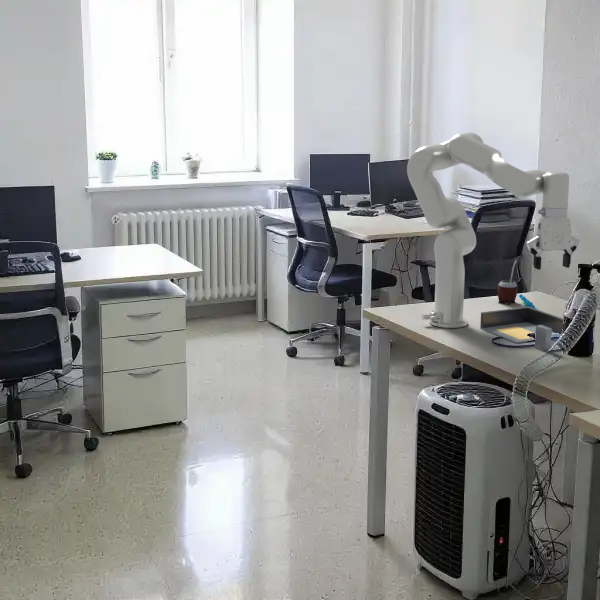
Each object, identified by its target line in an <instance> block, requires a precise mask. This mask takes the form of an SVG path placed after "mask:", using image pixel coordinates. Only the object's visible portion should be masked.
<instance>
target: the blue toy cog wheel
mask: <svg viewBox="0 0 600 600" xmlns="http://www.w3.org/2000/svg"><path fill="white" fill-rule="evenodd" d="M518 297H519V298H520V300H521V301H522V305H521V307H531V308H534V309H537V310H539V309H538V308H536V306H535V305H534V303H533V301H530V300H529V299H527V298H526V297H525V295H523V294H521V293H520V294H519V295H518Z"/></svg>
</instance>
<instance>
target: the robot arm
mask: <svg viewBox="0 0 600 600" xmlns="http://www.w3.org/2000/svg"><path fill="white" fill-rule="evenodd" d="M460 164H463V165H465V166H466V167H469V168H471V169H473V170H475V171H476V172H479V173H481V174H483V175H485V176H486V177H487V178H488V179H489V180H490V181H491V182H493V183H494V184H496V185H497V186H498V187H500V188H502V189H503V190H505V191H507V192H510V193H512V194H514V195H515V196H519V197H522V198H523V197H524V198H525V197H530V196H534V195H538V194H542V203H541V204H542V205H541V208H540V209H538V211H537V213H538V214H539V215H541V216H540V217H539V219H538V221H537V228H536V233H535V234H536V235H535V237H533V238H531V239H529V240H527V241H526V243H525V245H526V247H527V248H528V251H529V252H530V254H531V255H532V256H533V262H532V265H533V268H534V269H535V270H538V271H539V270H541V269H542V256H541V255H542V254H543V252H544V251H546V252H549V251H555V252H556V251H564V253H563V254H562V267H564V268H567V269H569V268H570V265H571V263H572V261H571V259H572V255H574V254H573V253H574V252H575V250H577V248H578V245H579V244H580V242H581V241H580V239H578V238H577V237H575V236H573V235H572V231H573V230H572V222H571V217H570V216H568V205H569V192H570V191H569V189H570V175H569V174H568V173H567V172H565V171H564V172H563V171H547V170H546V171H545V170H541V169H531V170H530V169H529V170H527V171H524V170H522V169H520V168H517V167H516V166H514V165H511V164H510V163H508V162H507V161H506V160H504V158H503V156H502V153H501V151H500V150H499V149H497V148H494V147H492V146H490V145H489V144H487V143H484V141H483V139H482V137H481V136H480V135H478V134H477V133H473V132H464V133H457V134H455V135H453V137H451V138H450V139H449V140H447V141H444V142H442V143H441V142H440V143H438V144H429V145H424V146H421V147H419V148H418V149H416V150H415V151H414V152H413V153H412V154H411V155H410V157H409V159H408V162H407V166H406V173H407V177H408V180H409V183H410V185H411V187H412V189H413V192H414V194H415V196H416V198H417V201H418V204H419V206H420V208H421V211H422V213H423V216H424V218H425V220H426V222H427V224H428V225H429V226H430V227H431V228H433V229H444V231H442V232H441V233H440V234H438V235H437V237H436V239H435V241H434V243H433V244H434V245H433V253H434V257H435V259H434V260H435V283H434V284H435V285H434V286H435V287H434V290H435V291H434V309H431V312H429V313H423V314H421V320H423V321H427V320H429V324H430V325H431V326H434V327H437V328H438V327H439V328H446V329H457V328H463V327H466V326H467V325H468V319H466V318H464V305H465V304H464V300H465V299H464V298H465V297H464V296H465V276H466V275H465V274H466V272H465V269H466V268H465V262H464V256H466V255H468V254H470V253H472V251H473V250H474V249H475V248H476V246H477V237H476V233H475V230H474V228H473V225H472V223H471V221H470V218H469V216H468V214H467V212H466V210H465V208H464V206H463V204H462V203H461V202H460V201H459V200H458V199H457V198H454V197H451V196H449V197H448V196H447V197H446V195H445V194H444V191H443V188H442V186H441V184H440V183H439V181H438V180H437V178H436V177H435V176H434V174H433V173H434V172H436V171H440V170H442V171H443V170H445V169H446V170H447V169H449V168H452V167H455V166H456V165H460ZM534 244H535V247H536V248H534Z"/></svg>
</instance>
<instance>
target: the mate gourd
mask: <svg viewBox="0 0 600 600" xmlns="http://www.w3.org/2000/svg"><path fill="white" fill-rule="evenodd" d="M517 261H518V260H515V261H514V263H513V266H512V268H511V273H510V274H511V275H510V279H509V280H508V279H504V280H501V281H499V283H498V285H497V298H498V304H506V305H508V306H510V305H511V304H516V299H517V295H518V291H519V288H518V284H517V282H515V280H513V275H514V271H515V266H516V263H517Z"/></svg>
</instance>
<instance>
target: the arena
mask: <svg viewBox="0 0 600 600" xmlns="http://www.w3.org/2000/svg"><path fill="white" fill-rule="evenodd" d="M537 309H538V308H536V309H534V308H531V307H522V306H521V307H514V308H506V309H499V310H498V309H497V310H492V311H491V310H490V311H483V312H480V327H479V328H480V329H481V330H483V331H485V332H488V333H490V334H492V335H495V336H497V337H500V338H502V337H503V338H502V339H504V338H505V339H504V340H506V339H507V341H509V342H512V343H514V344H516V343H518V344H524V343H523V342H525V343H528V342H527V341H531V340H535V339H531V338H530V337H529V336H527V334H529V333H532V332H536V325H543V326H546V327H548V328H551V329H552V333H559V334H561V333H562V329H563V320H564V319H565V318H562V317H560V316H557V315H554V314H551V313H548V312H545V311H542V310H540V309H538V310H537Z"/></svg>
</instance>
